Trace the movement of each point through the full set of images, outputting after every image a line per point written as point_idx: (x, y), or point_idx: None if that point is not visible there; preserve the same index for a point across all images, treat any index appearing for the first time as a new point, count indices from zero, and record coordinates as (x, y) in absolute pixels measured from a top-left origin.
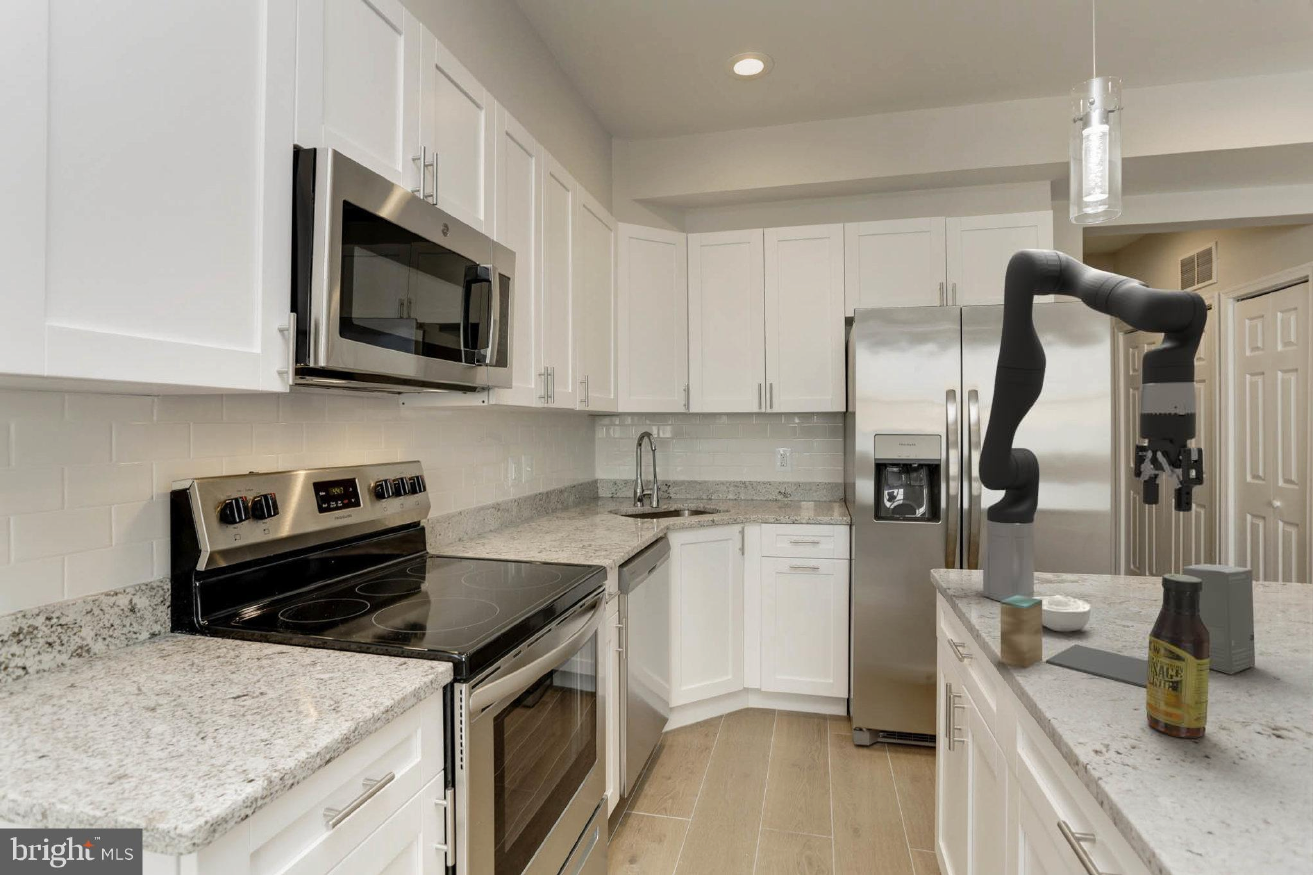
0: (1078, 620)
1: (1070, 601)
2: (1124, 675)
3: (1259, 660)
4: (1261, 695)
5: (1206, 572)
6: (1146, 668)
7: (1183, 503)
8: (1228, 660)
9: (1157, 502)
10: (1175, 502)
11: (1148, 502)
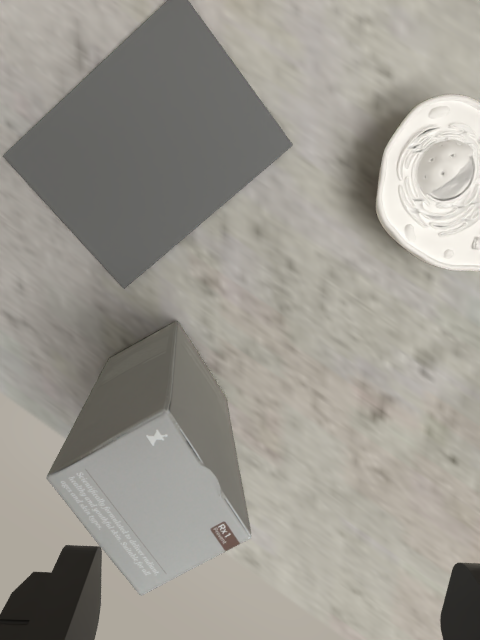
0: (376, 198)
1: (470, 226)
2: (80, 125)
3: None
4: (10, 336)
5: (100, 441)
6: (128, 206)
7: (3, 613)
8: (107, 364)
9: (448, 638)
10: (61, 592)
11: (460, 585)
